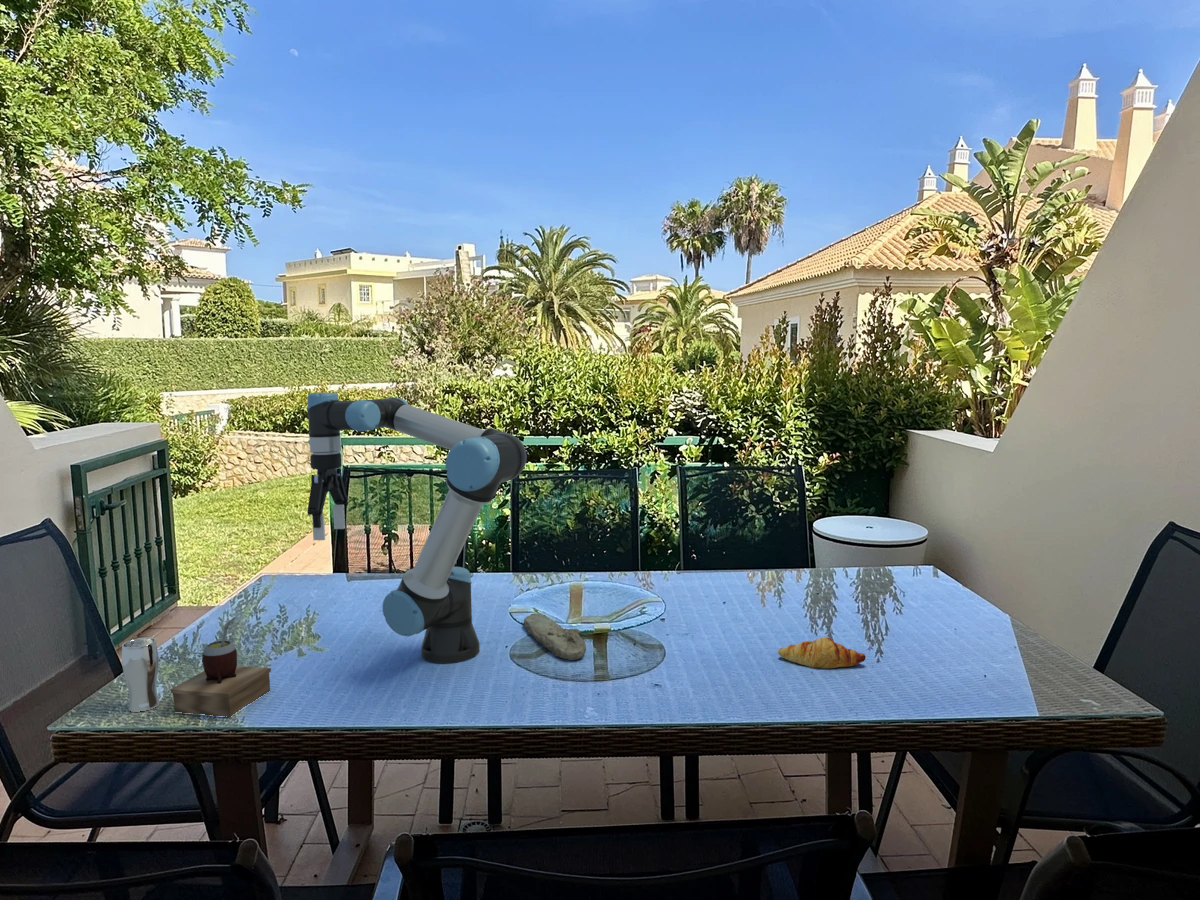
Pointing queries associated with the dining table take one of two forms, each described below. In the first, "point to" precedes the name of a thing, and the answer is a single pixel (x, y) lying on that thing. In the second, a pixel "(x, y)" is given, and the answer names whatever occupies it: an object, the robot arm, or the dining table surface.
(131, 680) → the beer glass
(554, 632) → the elongated rock
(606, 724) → the dining table surface
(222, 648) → the mate gourd
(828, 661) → the croissant
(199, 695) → the walnut box
